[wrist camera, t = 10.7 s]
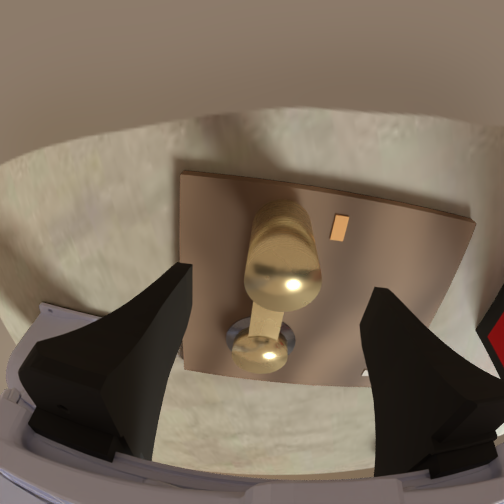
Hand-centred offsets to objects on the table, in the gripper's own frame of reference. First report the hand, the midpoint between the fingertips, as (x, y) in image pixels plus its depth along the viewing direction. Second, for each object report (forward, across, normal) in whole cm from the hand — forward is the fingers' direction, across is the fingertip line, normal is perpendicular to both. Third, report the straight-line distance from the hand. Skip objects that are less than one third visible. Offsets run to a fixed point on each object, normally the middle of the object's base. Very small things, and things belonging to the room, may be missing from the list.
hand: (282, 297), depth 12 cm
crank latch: (+7, 0, +5) cm, 8 cm away
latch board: (+8, -4, +6) cm, 11 cm away
